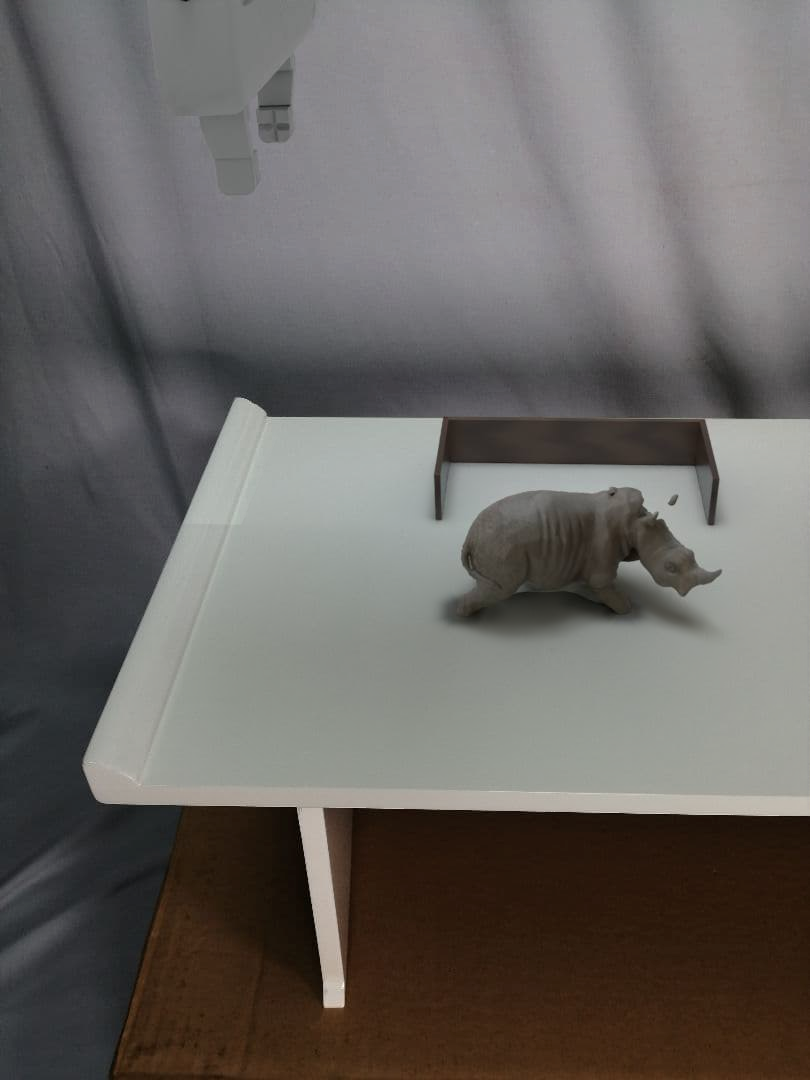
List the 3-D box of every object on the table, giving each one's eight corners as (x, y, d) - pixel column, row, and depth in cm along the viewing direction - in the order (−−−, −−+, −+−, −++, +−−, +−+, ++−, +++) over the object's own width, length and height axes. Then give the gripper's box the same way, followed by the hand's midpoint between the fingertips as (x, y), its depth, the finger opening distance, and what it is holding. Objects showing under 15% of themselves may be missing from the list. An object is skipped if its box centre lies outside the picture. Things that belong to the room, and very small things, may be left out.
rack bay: (700, 462, 96) (705, 418, 94) (714, 524, 88) (719, 478, 86) (444, 458, 98) (443, 416, 96) (435, 519, 90) (433, 474, 88)
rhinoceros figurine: (418, 541, 83) (548, 394, 75) (572, 628, 87) (712, 498, 79) (409, 615, 77) (549, 464, 69) (575, 706, 81) (727, 573, 72)
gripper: (243, -128, 45) (282, 227, 52) (326, -158, 62) (347, 114, 69) (84, -120, 46) (145, 230, 53) (210, -152, 63) (243, 117, 70)
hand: (260, 163), depth 61 cm, fingers open, 8 cm apart
